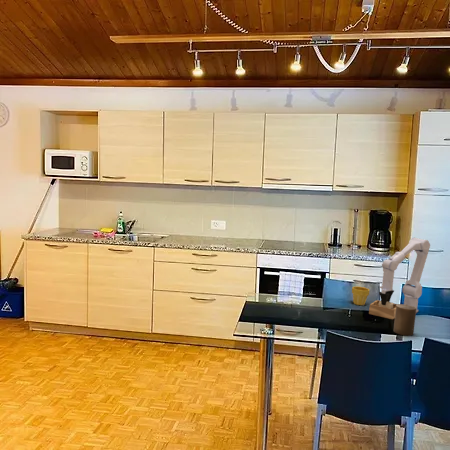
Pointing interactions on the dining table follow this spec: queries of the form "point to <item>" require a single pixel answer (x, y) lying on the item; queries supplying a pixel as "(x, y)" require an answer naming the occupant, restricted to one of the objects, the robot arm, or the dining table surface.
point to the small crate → (387, 305)
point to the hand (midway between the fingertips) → (385, 303)
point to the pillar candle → (404, 319)
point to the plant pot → (360, 295)
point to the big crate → (382, 310)
